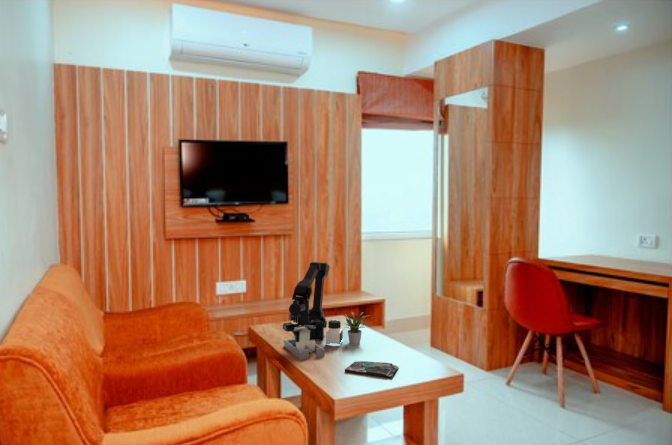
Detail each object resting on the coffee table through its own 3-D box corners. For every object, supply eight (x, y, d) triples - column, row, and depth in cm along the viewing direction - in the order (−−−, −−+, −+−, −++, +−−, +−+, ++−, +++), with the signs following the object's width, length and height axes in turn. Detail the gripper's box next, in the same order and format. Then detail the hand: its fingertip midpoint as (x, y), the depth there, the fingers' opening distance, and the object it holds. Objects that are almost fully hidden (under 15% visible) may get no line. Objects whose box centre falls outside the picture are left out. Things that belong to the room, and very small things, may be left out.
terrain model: (399, 368, 209) (400, 361, 209) (391, 381, 195) (391, 373, 194) (355, 362, 216) (355, 355, 215) (344, 373, 202) (344, 366, 201)
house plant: (371, 339, 247) (372, 308, 246) (370, 348, 234) (371, 315, 233) (344, 338, 249) (344, 307, 248) (341, 346, 235) (342, 313, 234)
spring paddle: (295, 352, 225) (295, 342, 225) (313, 350, 229) (313, 339, 229) (301, 357, 218) (301, 346, 218) (320, 354, 222) (320, 344, 222)
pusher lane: (284, 346, 235) (284, 338, 235) (307, 343, 240) (307, 335, 240) (300, 359, 216) (300, 351, 216) (324, 356, 221) (324, 347, 221)
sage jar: (305, 345, 233) (305, 327, 232) (310, 349, 228) (310, 330, 227) (295, 347, 230) (295, 328, 230) (299, 350, 226) (299, 331, 225)
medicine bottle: (339, 347, 235) (340, 322, 234) (325, 346, 236) (325, 322, 235) (342, 342, 242) (342, 319, 241) (328, 341, 243) (329, 318, 242)
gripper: (314, 305, 239) (314, 336, 240) (278, 308, 231) (278, 340, 232) (323, 310, 229) (323, 342, 230) (286, 314, 221) (286, 347, 222)
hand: (302, 342), depth 229 cm, fingers closed on sage jar, 5 cm apart
